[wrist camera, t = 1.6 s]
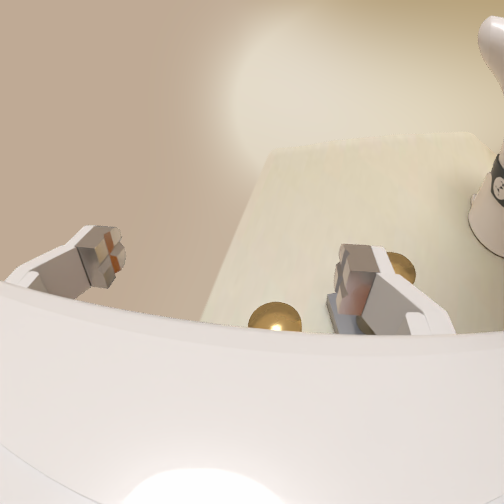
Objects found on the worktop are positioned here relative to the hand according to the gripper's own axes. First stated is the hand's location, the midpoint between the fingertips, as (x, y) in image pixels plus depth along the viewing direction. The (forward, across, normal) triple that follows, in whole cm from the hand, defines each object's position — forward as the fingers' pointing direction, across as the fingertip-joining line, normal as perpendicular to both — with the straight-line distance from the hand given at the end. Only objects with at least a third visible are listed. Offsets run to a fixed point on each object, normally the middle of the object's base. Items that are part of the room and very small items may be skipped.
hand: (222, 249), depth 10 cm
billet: (+13, -4, +25) cm, 29 cm away
